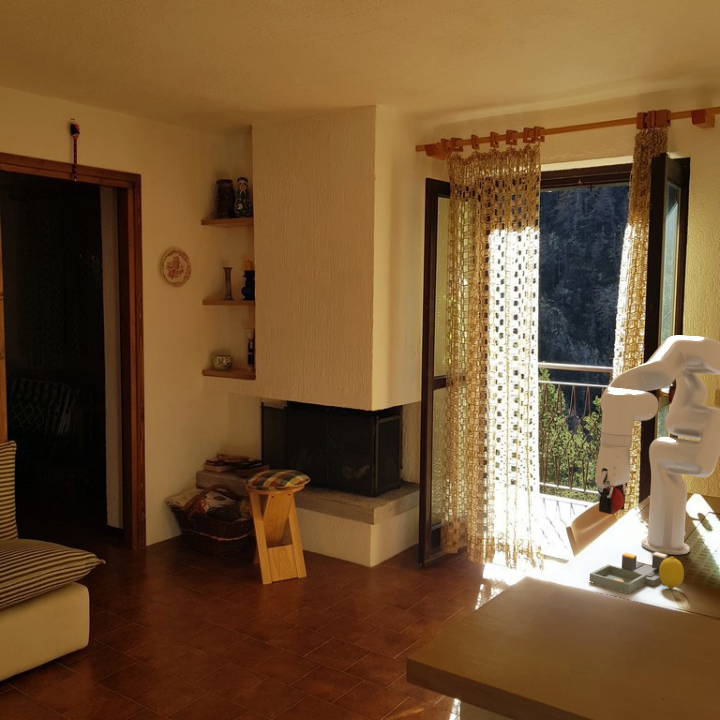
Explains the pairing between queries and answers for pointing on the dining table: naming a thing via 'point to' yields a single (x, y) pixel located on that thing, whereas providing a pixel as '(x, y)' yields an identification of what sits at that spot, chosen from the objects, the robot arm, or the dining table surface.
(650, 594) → the dining table surface
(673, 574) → the lemon
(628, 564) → the block
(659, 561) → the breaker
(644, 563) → the breaker panel
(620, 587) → the tray
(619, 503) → the onion
